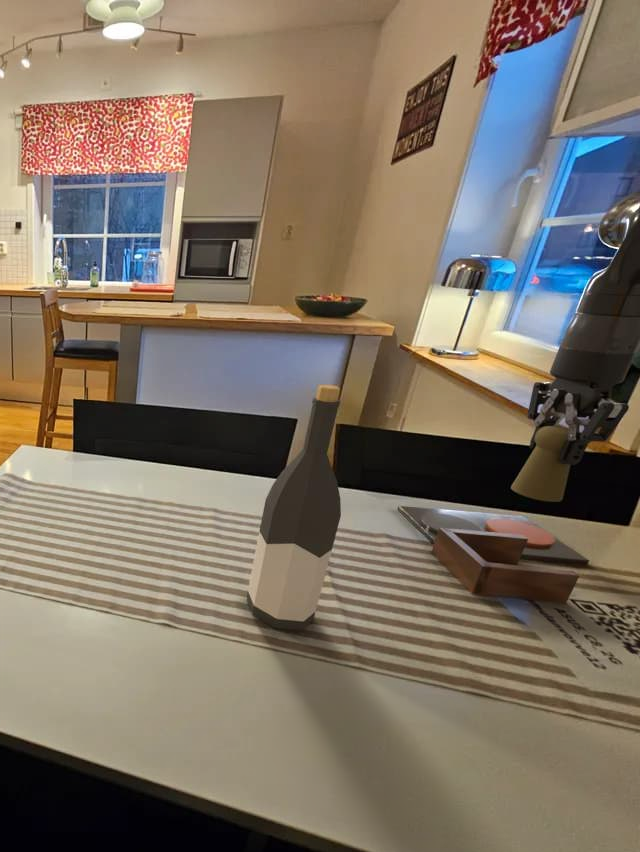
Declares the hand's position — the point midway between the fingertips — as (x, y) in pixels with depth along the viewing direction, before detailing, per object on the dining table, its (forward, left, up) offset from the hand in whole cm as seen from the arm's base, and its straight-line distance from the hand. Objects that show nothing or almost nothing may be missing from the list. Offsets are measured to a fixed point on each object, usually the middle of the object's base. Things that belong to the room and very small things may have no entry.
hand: (551, 456), depth 76 cm
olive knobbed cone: (0, 0, -7) cm, 7 cm away
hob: (+5, 0, -15) cm, 16 cm away
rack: (+11, +13, -15) cm, 23 cm away
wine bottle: (+44, +27, -15) cm, 54 cm away
